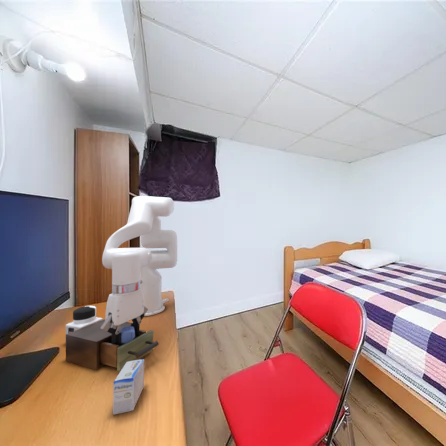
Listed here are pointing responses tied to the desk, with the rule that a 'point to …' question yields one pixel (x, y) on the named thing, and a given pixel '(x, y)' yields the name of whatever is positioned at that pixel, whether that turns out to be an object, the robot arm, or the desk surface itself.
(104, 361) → the drawer
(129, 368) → the medicine box
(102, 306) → the desk surface
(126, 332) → the decorative dice
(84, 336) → the cabinet
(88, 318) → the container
